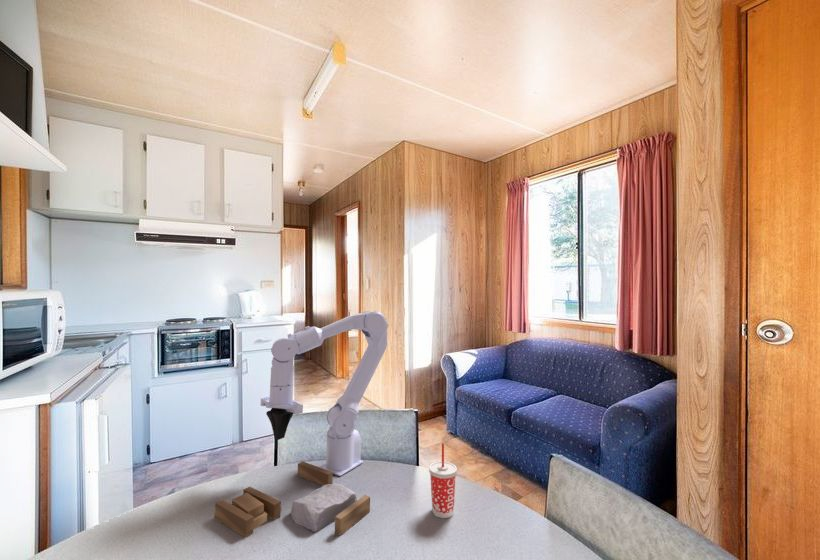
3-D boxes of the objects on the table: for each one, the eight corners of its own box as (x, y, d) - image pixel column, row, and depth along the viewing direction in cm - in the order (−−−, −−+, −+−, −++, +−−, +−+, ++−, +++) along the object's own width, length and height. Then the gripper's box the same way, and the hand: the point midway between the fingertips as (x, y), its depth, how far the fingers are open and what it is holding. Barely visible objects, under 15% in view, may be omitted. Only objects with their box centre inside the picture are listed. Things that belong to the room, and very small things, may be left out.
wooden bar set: (302, 473, 87) (302, 461, 87) (380, 503, 73) (380, 489, 73) (214, 518, 67) (215, 502, 68) (298, 570, 54) (299, 550, 54)
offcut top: (246, 501, 71) (247, 492, 71) (263, 513, 67) (263, 504, 67) (231, 508, 68) (231, 499, 68) (248, 521, 64) (248, 511, 64)
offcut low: (243, 511, 71) (244, 501, 71) (266, 523, 67) (267, 513, 67) (227, 520, 68) (227, 509, 68) (250, 533, 64) (250, 522, 64)
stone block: (285, 527, 68) (316, 536, 62) (284, 501, 69) (314, 507, 63) (330, 503, 77) (360, 508, 72) (329, 480, 78) (358, 484, 73)
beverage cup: (436, 523, 66) (436, 451, 68) (424, 506, 72) (424, 440, 73) (462, 516, 69) (462, 446, 70) (448, 500, 74) (448, 436, 76)
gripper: (251, 383, 86) (248, 437, 85) (287, 391, 79) (284, 449, 77) (274, 379, 92) (272, 429, 91) (310, 385, 85) (308, 440, 83)
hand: (279, 438), depth 85 cm, fingers closed
